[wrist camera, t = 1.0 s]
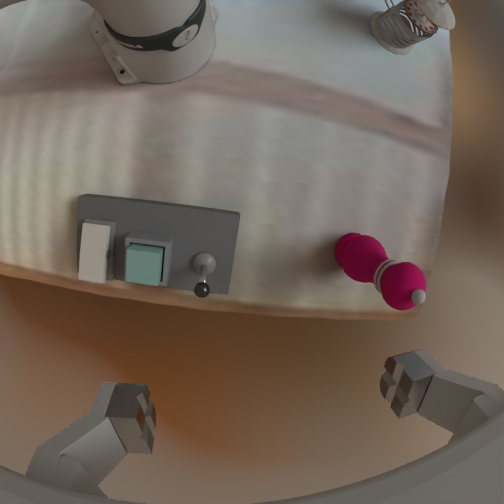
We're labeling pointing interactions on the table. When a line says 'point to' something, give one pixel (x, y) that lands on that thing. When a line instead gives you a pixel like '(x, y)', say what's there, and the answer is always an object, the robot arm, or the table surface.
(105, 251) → the rocker switch
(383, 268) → the pepper mill
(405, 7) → the french press
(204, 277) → the toggle lever
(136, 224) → the control panel
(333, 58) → the table surface
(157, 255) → the push button
